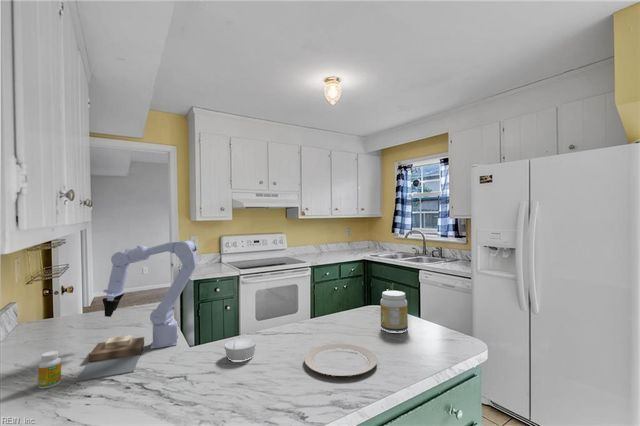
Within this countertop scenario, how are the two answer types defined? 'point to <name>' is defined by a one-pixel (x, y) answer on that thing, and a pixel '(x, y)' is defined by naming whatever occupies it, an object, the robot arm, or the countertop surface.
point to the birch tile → (118, 342)
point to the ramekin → (240, 348)
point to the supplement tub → (394, 311)
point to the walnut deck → (116, 350)
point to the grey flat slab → (108, 368)
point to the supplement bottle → (49, 370)
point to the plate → (366, 352)
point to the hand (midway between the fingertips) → (110, 313)
